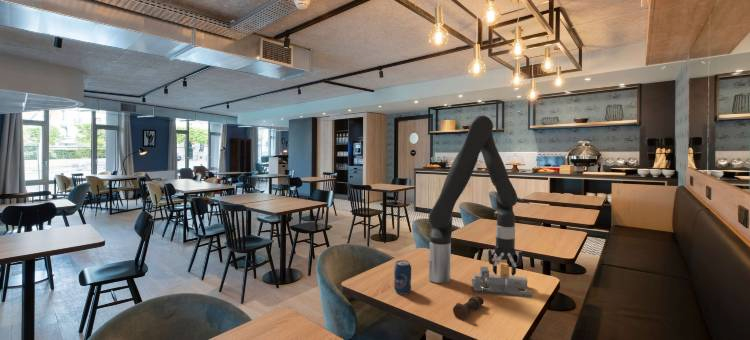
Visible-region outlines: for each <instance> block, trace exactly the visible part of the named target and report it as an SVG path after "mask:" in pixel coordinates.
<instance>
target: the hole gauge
mask: <svg viewBox="0 0 750 340" xmlns="http://www.w3.org/2000/svg"><path fill="white" fill-rule="evenodd" d="M479 269H480V271H479V273H474V278H471V284H472V287H473V291H474V293H475V294H486V295H487V294H489V295H500V296H501V295H502V296H514V297H524V298H525V297H527V298H533V294H532V292H531V291H530V289H529V287H528V279H527V278H528V277H525V276H515V275H514V276H512V275H509V279H507V287H506V286H505V281H506V279H505V278H501V276H500V274H490V270H489V267H488V266H480V268H479Z"/></svg>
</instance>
